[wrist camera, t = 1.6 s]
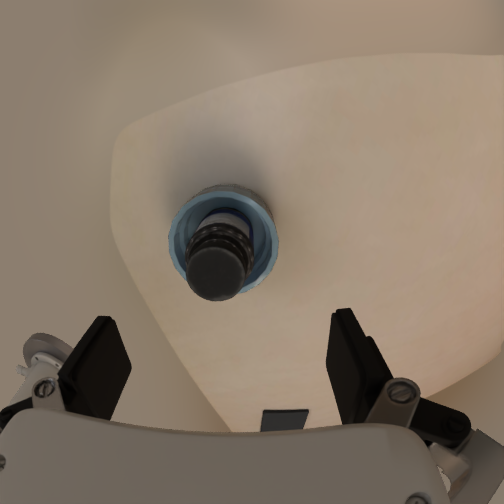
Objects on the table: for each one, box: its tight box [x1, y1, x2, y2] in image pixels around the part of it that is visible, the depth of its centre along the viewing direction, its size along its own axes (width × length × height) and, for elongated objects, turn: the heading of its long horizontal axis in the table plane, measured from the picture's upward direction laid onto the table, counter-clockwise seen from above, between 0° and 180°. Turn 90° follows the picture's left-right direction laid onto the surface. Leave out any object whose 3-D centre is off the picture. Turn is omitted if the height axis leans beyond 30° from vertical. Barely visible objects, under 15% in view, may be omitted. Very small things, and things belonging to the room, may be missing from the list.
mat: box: [260, 410, 309, 432], centre depth 45 cm, size 8×8×1 cm
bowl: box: [168, 184, 279, 294], centre depth 30 cm, size 11×11×5 cm
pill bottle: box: [185, 207, 254, 301], centre depth 27 cm, size 6×6×11 cm
